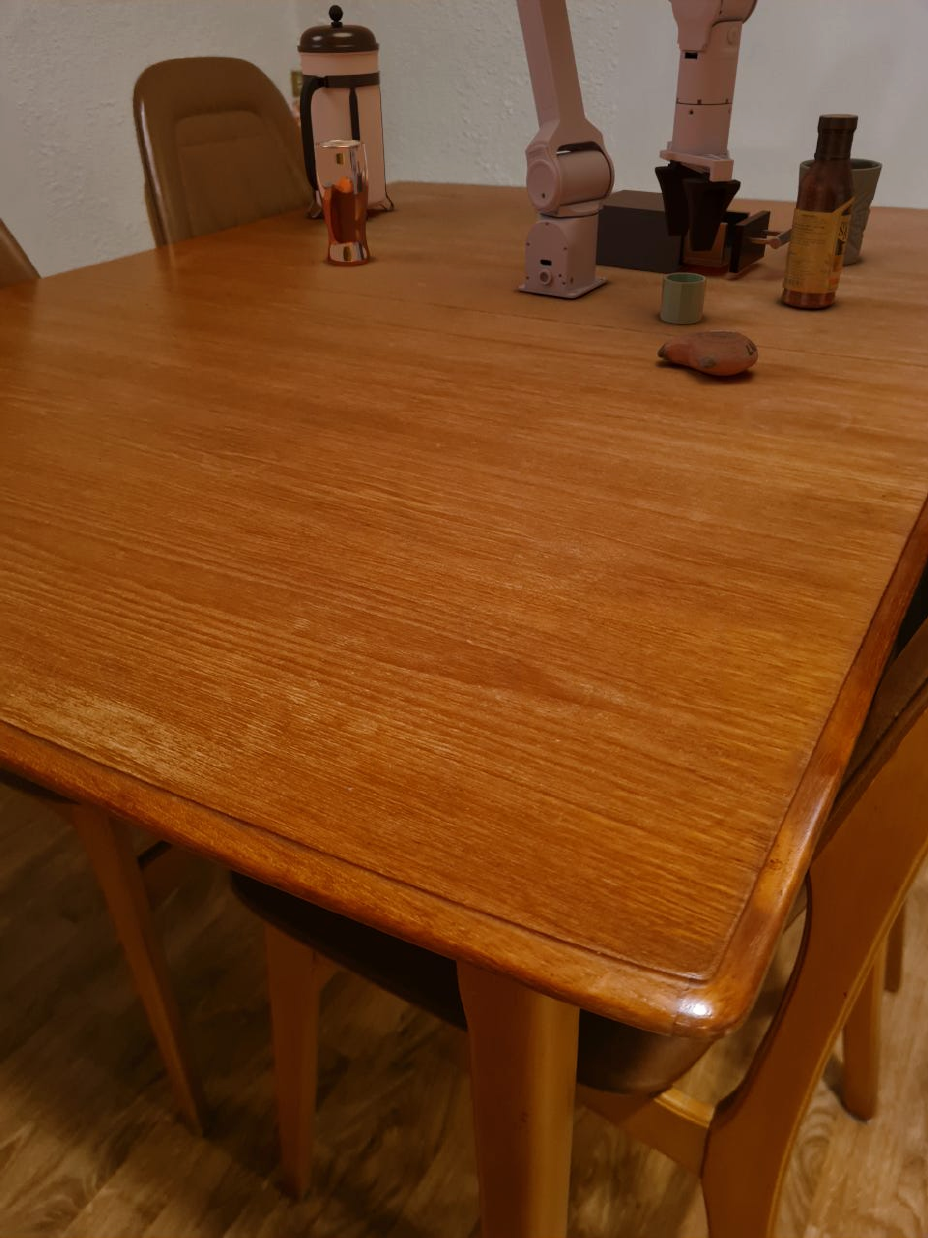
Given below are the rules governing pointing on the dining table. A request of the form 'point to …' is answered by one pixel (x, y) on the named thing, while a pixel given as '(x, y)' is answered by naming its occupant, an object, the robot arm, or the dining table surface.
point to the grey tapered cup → (856, 201)
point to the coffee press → (342, 98)
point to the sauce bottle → (822, 217)
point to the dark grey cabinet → (637, 233)
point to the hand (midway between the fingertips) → (688, 242)
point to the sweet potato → (711, 351)
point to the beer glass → (344, 199)
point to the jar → (682, 298)
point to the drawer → (736, 242)
